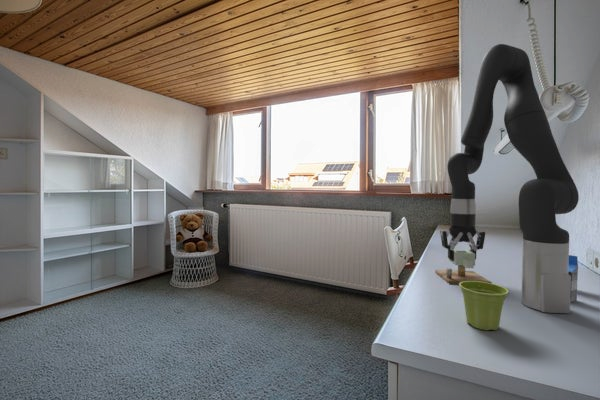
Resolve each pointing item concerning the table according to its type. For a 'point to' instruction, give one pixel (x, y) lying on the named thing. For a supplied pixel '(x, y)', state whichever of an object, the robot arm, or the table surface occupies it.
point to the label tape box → (573, 276)
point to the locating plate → (459, 279)
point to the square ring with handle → (464, 258)
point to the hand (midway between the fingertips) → (461, 260)
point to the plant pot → (483, 303)
